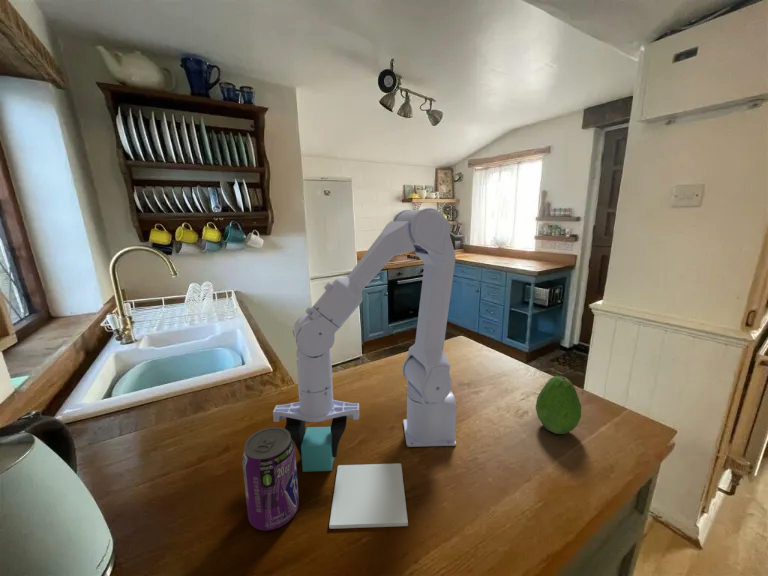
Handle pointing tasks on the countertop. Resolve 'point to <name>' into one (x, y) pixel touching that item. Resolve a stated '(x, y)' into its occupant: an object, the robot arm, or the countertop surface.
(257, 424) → the countertop surface
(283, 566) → the countertop surface
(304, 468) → the cube
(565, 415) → the avocado
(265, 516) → the beverage can
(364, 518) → the plate
